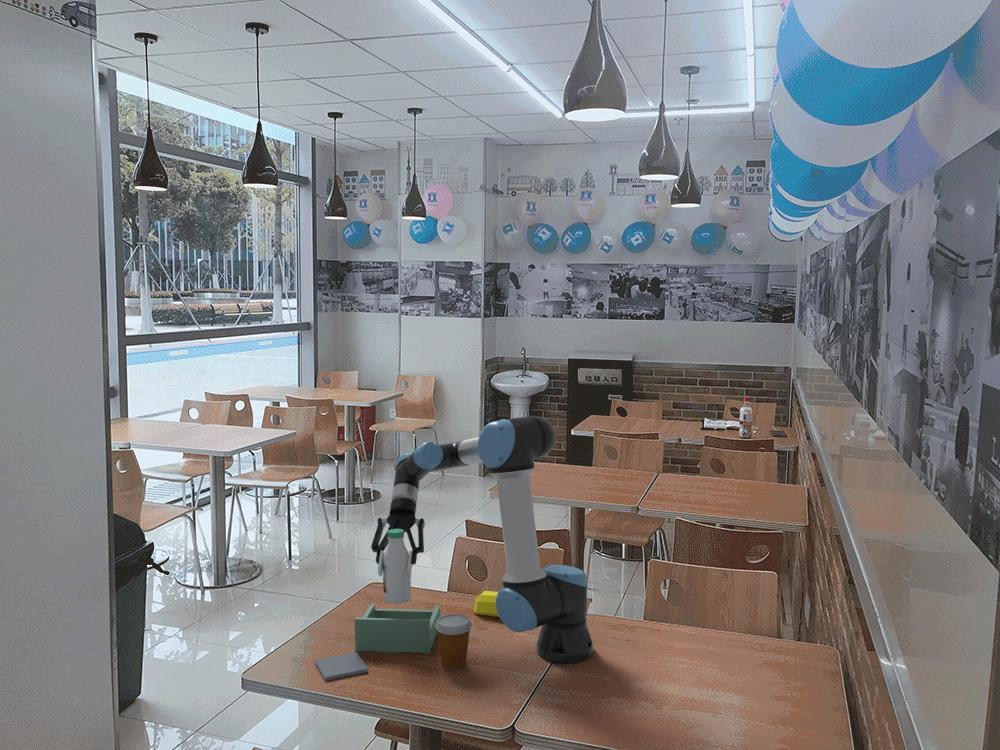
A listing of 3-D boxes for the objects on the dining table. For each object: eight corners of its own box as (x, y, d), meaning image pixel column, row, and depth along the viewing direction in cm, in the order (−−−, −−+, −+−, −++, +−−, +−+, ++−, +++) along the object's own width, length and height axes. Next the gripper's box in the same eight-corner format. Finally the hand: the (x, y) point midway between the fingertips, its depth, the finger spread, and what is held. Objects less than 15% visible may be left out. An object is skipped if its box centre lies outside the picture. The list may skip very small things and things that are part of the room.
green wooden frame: (372, 621, 246) (371, 592, 245) (440, 623, 245) (440, 593, 244) (355, 651, 226) (354, 619, 225) (429, 653, 224) (429, 621, 223)
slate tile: (368, 672, 213) (367, 668, 213) (325, 681, 209) (325, 677, 208) (356, 655, 223) (356, 652, 223) (315, 663, 218) (315, 659, 218)
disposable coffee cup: (455, 676, 211) (455, 630, 210) (428, 666, 217) (427, 621, 216) (479, 662, 219) (479, 618, 217) (451, 653, 224) (451, 610, 223)
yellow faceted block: (522, 625, 244) (532, 615, 251) (522, 603, 243) (532, 594, 250) (467, 615, 251) (479, 606, 258) (467, 593, 251) (479, 585, 258)
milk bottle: (416, 597, 237) (414, 528, 235) (401, 606, 230) (400, 535, 228) (393, 593, 240) (391, 525, 238) (378, 602, 233) (376, 532, 231)
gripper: (439, 509, 247) (432, 580, 233) (372, 509, 249) (360, 579, 234) (436, 496, 242) (428, 568, 227) (367, 495, 243) (355, 567, 229)
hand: (394, 574), depth 231 cm, fingers closed on milk bottle, 7 cm apart
